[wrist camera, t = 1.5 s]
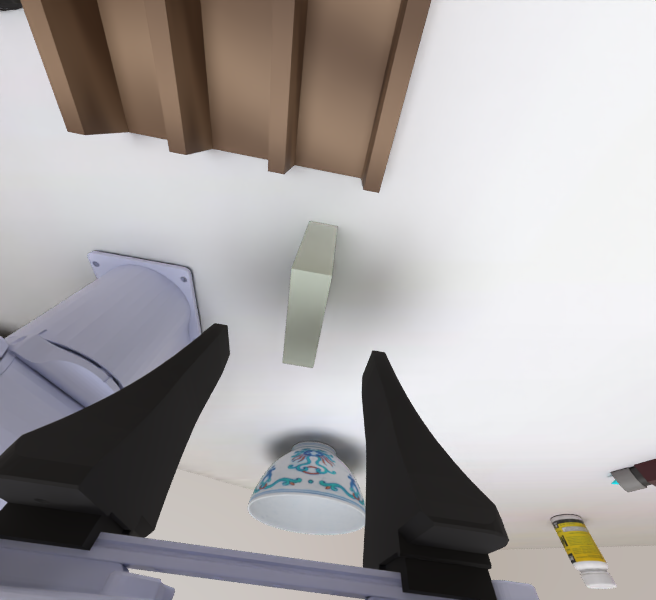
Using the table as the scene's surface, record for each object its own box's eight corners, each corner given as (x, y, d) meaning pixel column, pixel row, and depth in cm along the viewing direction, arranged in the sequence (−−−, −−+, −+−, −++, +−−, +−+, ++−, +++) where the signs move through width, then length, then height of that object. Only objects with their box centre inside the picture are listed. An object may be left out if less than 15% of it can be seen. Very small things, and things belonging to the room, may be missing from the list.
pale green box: (322, 303, 22) (313, 368, 17) (299, 299, 22) (282, 363, 16) (337, 226, 18) (332, 275, 12) (309, 220, 18) (291, 268, 12)
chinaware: (384, 445, 36) (392, 515, 30) (335, 480, 44) (333, 541, 38) (284, 413, 33) (269, 483, 26) (252, 457, 41) (234, 519, 35)
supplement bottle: (547, 515, 47) (581, 584, 40) (578, 512, 45) (619, 583, 38) (552, 523, 49) (585, 589, 42) (582, 520, 47) (622, 589, 40)
